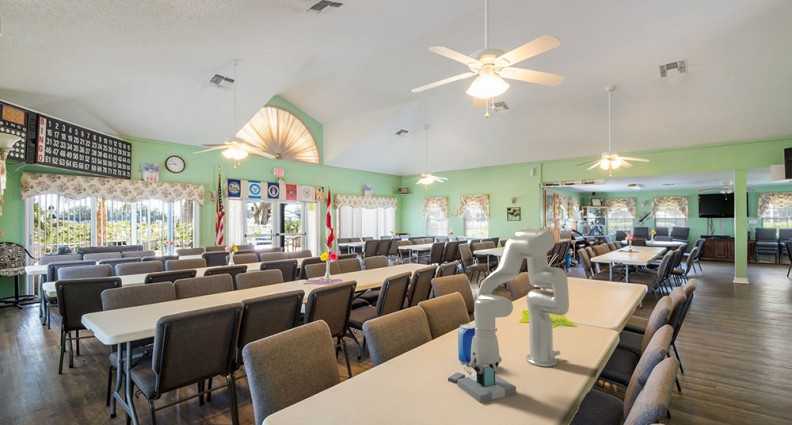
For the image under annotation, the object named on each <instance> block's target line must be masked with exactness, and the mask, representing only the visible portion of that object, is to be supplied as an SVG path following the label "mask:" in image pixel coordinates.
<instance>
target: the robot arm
mask: <svg viewBox="0 0 792 425" xmlns="http://www.w3.org/2000/svg"><path fill="white" fill-rule="evenodd" d="M555 244H556V235H555V233H554V232H553V231H552V230H549V229H536V228H535V229H534V228H533V229H530V228H528V229H526V228H524V229H518V230H516V231H515V232H514V235H513V237H510V238H508V239H507V240H506V242H505V244H504V247H503V249H502V253H501V255H500V259H499V262H498V265H497V267H496V269H495V270H493V271H492V272H491V273H490V274H489V275H488V276H487V277H486V278H485V279H484V280H483V281H482V282H481V284H480V287H479V289H478V292H477V294H476V300H475V301H474V304H473V306H474V326H475V336H473V339H472V345H471V361H470V363H469V365H468V366H469V367H470V368H471V369H473V370H474V371H475V372H476V375H477V382H478V383H479V384H481V385H483V384H484V376H483V374H482V370H483V366H485V365H488V366H489V367H491V368H493V369H494V382H495V374H496V371H497V367H498V366H499V364H500V363H501V362H502V360H503V359H502V357H501V355H500V349H499V341H498V336H497V335H496V333H497V332H498V328H497V327H496V319H497V318H506V317H508V316H510V315H511V314H512V312H513V310H514V304H513V302H512V300H510V299H509V298H508V297H505V296H501V295H500V296H499V295H495V294H492V293H493V291H494V290H495V288H497V287H498V286H500V285H502V284H503V283H506V282H509V281H512V280H516V279H517V278H518V276H519V274H520V270H521V268H522V264H523V260H524V259H526V260H527V261H526V262H527V276H528V281H529V284H530V285H531V286H532V287H536V288H540V289H531V290H529V291H528V293H527V294H526V300H525V301H526V305H527V311H528V317H529V318H528V319H529V320H528V321H529V323H528V325H529V354H527V355H526V357H525V358H526V361H527V363H529V364H532V365H535V366H536V367H537V366H538V367H545V368H546V367H547V368H548V367H549V368H550V367H555V366H556V365H557V364H558V360H557V359H556V358H555V357H556V356H559V355H561V351H560V350H554V342H553V340H554V338H553V335H554V334H553V321H552V318H551V316H550V315H555V316H566V314H567V313H568V312H569V310H570V298H569V296H570V295H569V282H568V276H567V273H566V272H565V271H564V269H562V268H560V267H556V266H555V267H554V266H553V267H552V266H550V265H549V263H548V262H549V261H548V255H547V253H548V252H549V251H551V250H552V249H553V248H554V247H555ZM545 289H548V290H545ZM550 290H551V291H550ZM475 362H476V364H475Z"/></svg>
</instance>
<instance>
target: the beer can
mask: <svg viewBox="0 0 792 425" xmlns="http://www.w3.org/2000/svg"><path fill="white" fill-rule="evenodd" d="M457 333H458V334H457V336H458V339H457V342H458V347H457V348H458V360H459V362H460V363H461V365H466V366H469V363H470V361H471V345H472V339H473V336H475V324H471V323H462V324H460V325H459V328H458V330H457ZM475 365H476V362H475Z"/></svg>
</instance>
